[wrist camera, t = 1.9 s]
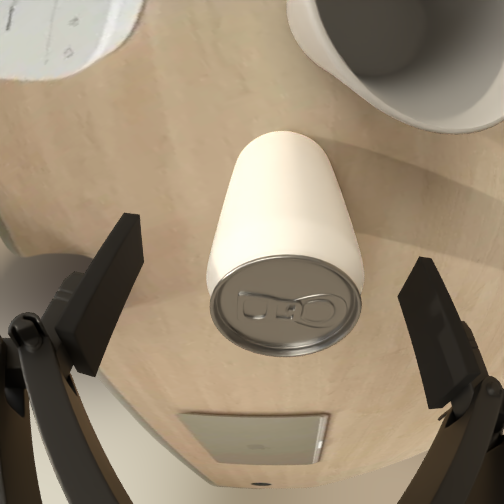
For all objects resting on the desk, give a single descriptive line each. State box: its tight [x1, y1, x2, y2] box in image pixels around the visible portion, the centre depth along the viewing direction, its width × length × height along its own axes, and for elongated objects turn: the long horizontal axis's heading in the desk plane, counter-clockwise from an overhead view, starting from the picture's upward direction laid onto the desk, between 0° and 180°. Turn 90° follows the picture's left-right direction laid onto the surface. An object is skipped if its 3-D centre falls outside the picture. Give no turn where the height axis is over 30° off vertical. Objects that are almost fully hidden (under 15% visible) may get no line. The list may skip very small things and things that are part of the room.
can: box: [206, 131, 364, 357], centre depth 16 cm, size 6×6×12 cm
